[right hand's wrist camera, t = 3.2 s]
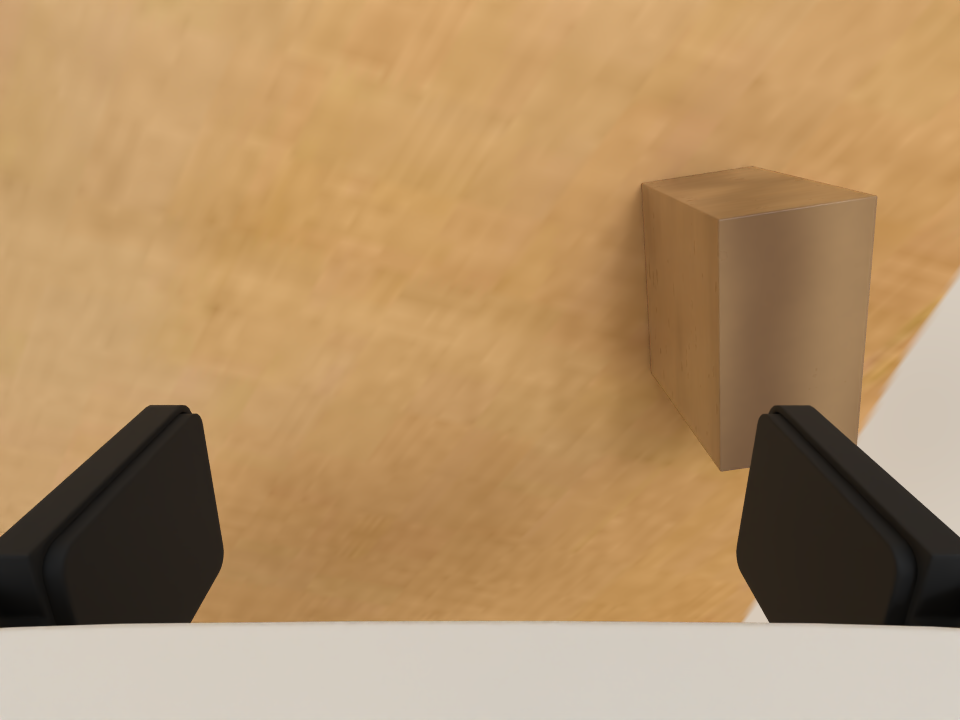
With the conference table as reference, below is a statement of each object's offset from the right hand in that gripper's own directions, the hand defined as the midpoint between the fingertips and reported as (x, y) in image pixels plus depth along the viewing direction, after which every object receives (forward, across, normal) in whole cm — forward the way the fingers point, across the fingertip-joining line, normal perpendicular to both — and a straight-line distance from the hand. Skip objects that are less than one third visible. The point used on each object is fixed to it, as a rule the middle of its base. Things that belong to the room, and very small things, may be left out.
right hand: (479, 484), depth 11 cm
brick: (+20, -10, +1) cm, 22 cm away
